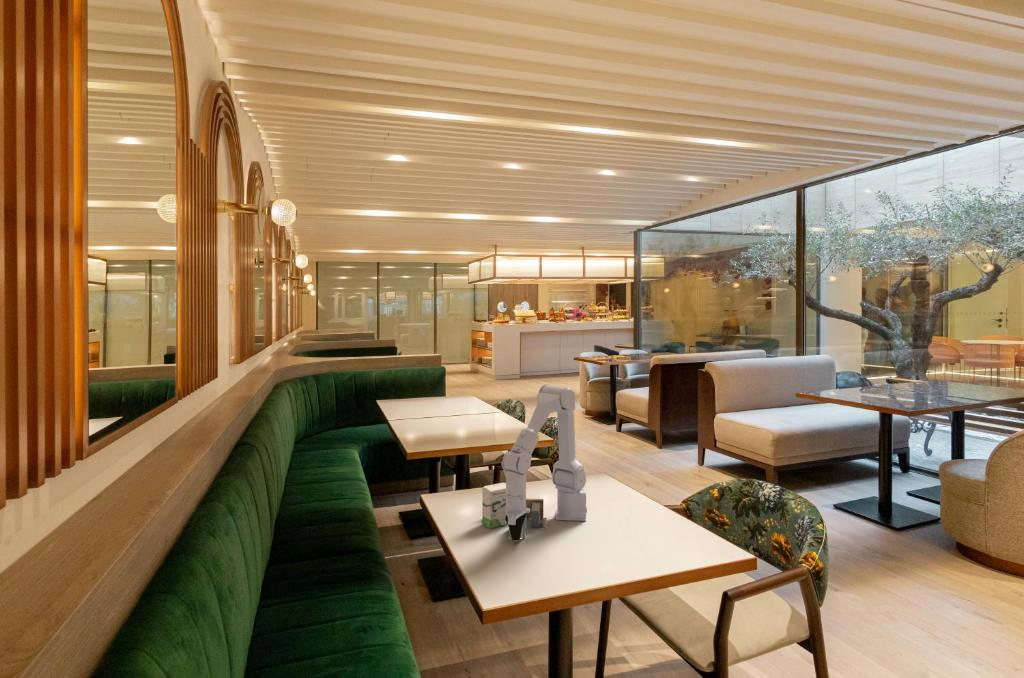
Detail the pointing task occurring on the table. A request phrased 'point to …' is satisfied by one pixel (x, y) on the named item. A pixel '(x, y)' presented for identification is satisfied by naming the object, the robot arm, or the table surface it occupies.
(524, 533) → the book
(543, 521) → the bookend
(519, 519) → the robot arm
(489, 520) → the ink box
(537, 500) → the back board
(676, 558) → the table surface
